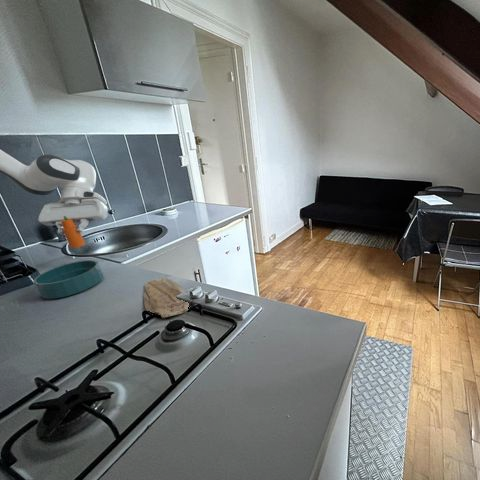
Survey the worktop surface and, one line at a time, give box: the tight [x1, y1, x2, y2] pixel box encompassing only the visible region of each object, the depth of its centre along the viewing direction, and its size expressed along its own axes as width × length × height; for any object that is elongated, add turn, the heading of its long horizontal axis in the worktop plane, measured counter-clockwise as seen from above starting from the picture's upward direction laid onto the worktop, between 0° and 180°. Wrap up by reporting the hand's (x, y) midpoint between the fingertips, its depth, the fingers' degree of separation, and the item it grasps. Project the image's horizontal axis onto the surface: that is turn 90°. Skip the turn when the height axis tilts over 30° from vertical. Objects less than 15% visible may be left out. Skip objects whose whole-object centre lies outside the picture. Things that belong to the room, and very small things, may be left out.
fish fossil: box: [142, 277, 190, 319], centre depth 75 cm, size 26×10×1 cm, turn 48°
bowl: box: [32, 259, 104, 300], centre depth 83 cm, size 15×15×6 cm
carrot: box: [61, 216, 86, 249], centre depth 93 cm, size 4×4×11 cm
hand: (70, 232), depth 93 cm, fingers closed on carrot, 4 cm apart
